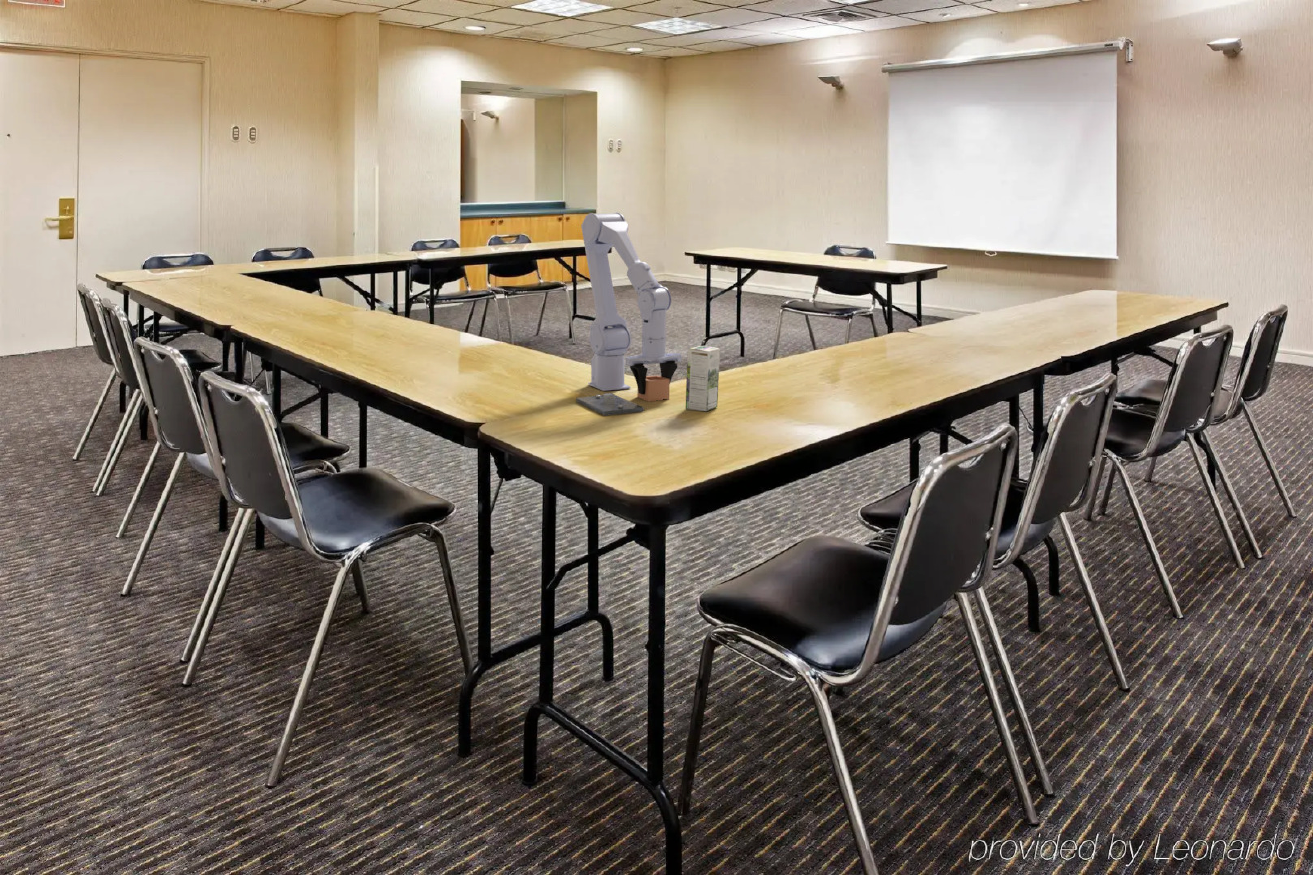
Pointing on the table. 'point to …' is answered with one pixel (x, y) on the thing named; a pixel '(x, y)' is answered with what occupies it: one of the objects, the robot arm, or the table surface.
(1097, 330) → the table surface
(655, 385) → the collar
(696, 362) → the syrup box
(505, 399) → the table surface
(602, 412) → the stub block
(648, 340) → the robot arm
